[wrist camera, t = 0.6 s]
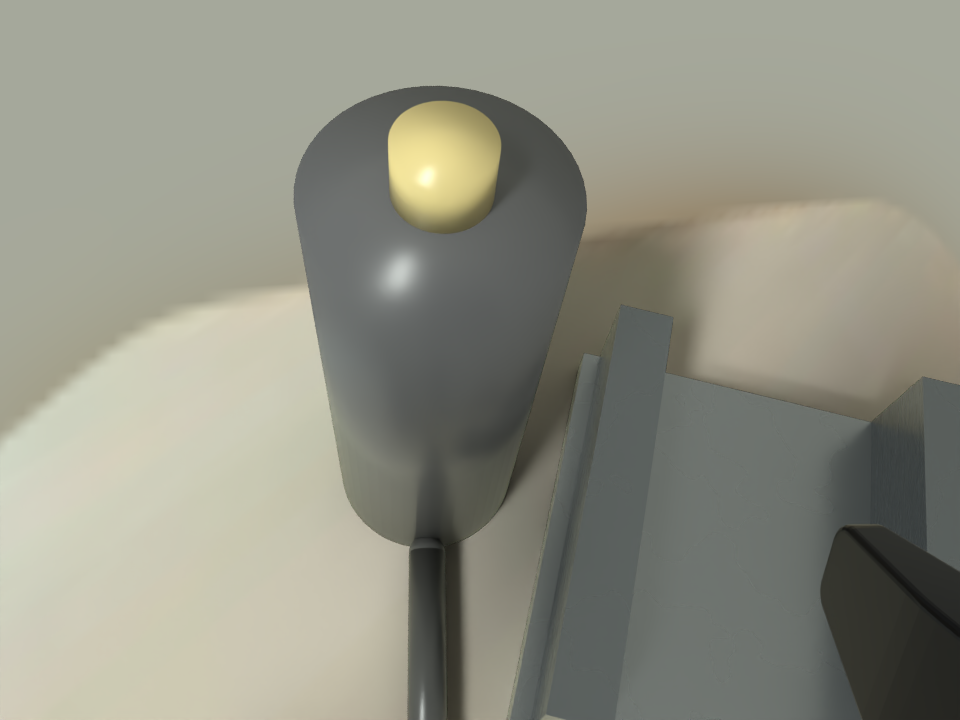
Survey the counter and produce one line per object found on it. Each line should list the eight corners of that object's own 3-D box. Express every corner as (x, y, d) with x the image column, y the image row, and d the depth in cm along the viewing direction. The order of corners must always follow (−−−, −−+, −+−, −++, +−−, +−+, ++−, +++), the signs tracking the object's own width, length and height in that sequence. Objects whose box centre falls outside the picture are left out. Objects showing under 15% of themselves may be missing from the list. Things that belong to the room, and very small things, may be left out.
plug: (527, 816, 21) (683, 791, 9) (323, 822, 21) (215, 806, 9) (506, 391, 27) (586, 38, 15) (346, 390, 27) (297, 27, 15)
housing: (927, 839, 22) (1027, 840, 18) (505, 728, 22) (523, 708, 19) (919, 450, 27) (995, 393, 24) (578, 368, 28) (603, 300, 24)
